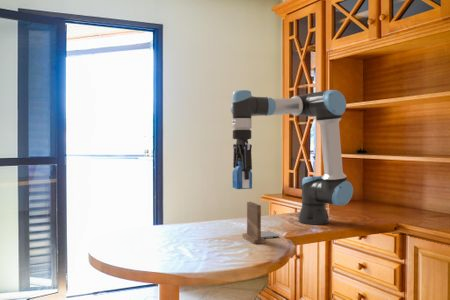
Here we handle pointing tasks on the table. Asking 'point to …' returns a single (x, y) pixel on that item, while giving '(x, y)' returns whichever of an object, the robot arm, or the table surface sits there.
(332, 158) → the robot arm
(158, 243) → the table surface
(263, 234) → the slate tile
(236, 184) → the perfume bottle
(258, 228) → the walnut screen
